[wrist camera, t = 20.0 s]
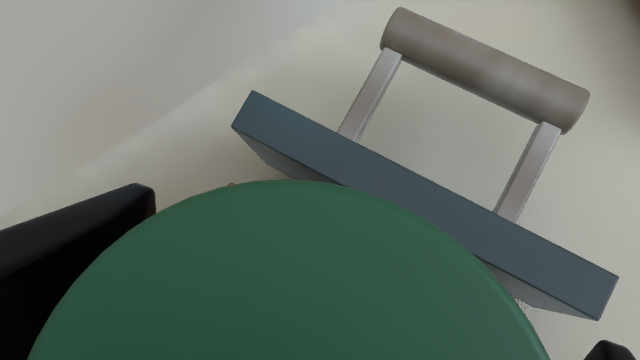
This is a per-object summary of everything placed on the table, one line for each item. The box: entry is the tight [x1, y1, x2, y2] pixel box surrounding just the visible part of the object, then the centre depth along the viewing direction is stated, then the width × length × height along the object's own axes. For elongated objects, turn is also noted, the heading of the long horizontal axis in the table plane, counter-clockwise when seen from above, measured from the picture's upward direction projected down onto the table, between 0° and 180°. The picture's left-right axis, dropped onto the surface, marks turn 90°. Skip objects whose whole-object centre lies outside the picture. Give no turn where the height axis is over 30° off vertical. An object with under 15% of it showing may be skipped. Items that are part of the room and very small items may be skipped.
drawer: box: [228, 7, 619, 321], centre depth 15 cm, size 17×10×5 cm, turn 151°
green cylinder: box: [27, 179, 550, 360], centre depth 10 cm, size 4×4×13 cm
